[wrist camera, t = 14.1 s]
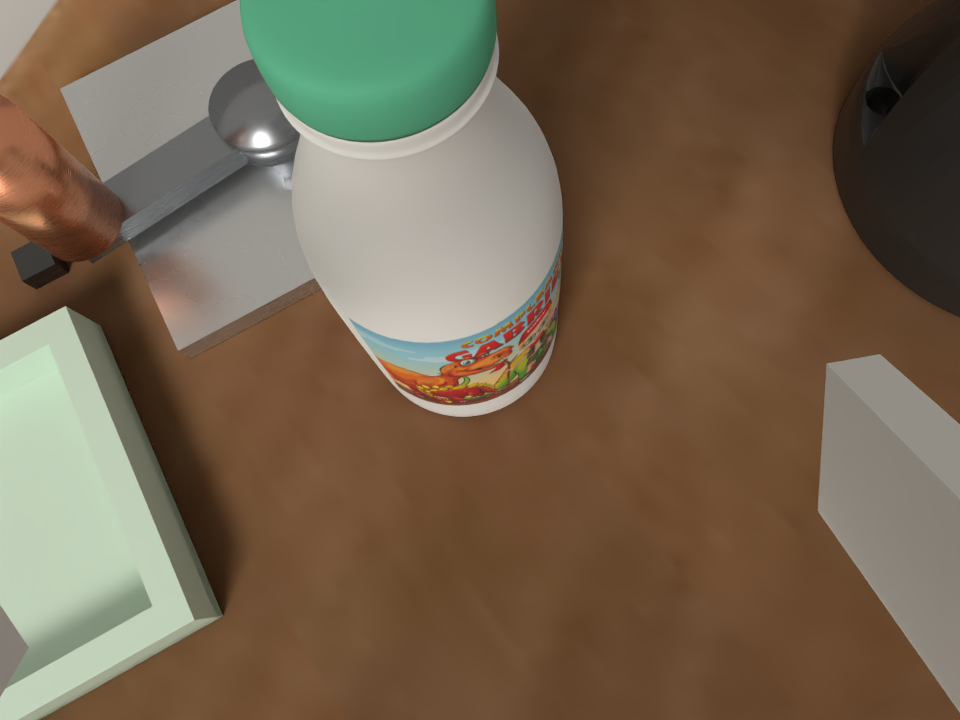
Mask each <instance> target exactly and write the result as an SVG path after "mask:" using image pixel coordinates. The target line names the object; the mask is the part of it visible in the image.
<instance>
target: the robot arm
mask: <svg viewBox="0 0 960 720" xmlns="http://www.w3.org/2000/svg"><path fill="white" fill-rule="evenodd" d="M833 159H834V171H835V177H836V183H837V186H838V190H839V194H840V197H841V200H842V203H843V206H844V208H845V210H846V213H847V215H848V217H849V219H850V221H851V223H852V225H853V227H854V229H855V230H856V232H857V233H858V235H859V237H860V238H861V240H862V241H863V242H864V244H865V245H866V246H867V248H868V249H869V250H870V252H871V253H872V254H873V255H874V256H875V258H876V259H877V260H878V261H879V262H880V263H881V264H882V265H883V266H884V267H885V268H886V269H887V270H888V271H889V272H890V273H891V274H892V275H893V276H894V277H895V278H897V279H898V280H899V281H900V282H901V283H903V284H904V285H905V286H907V287H908V288H909V289H910V290H912V291H913V292H915V293H916V294H918V295H919V296H921V297H922V298H924V299H926V300H927V301H929V302H931V303H932V304H934V305H936V306H938V307H940V308H942V309H944V310H946V311H948V312H950V313H952V314H954V315H957V316H959V317H960V0H936V1H934V2H933V3H932V4H930V5H929V6H927V7H926V8H924V9H923V10H922V11H920V12H919V13H917V14H916V15H914V16H913V17H912V18H910V19H909V20H908V21H906V22H905V23H904V24H903V25H902V26H900V27H899V28H898V29H897V30H896V31H895V32H894V33H893V34H892V35H891V36H890V37H889V38H888V39H887V40H886V41H885V42H884V43H883V45H882V46H881V47H880V48H879V49H878V50H877V52H876V53H875V55H874V56H873V57H872V59H871V60H870V62H869V63H868V65H867V66H866V68H865V69H864V71H863V72H862V74H861V75H860V77H859V78H858V80H857V81H856V83H855V85H854V86H853V88H852V89H851V91H850V93H849V94H848V96H847V98H846V101H845V103H844V105H843V107H842V110H841V113H840V115H839V119H838V122H837V126H836V132H835V138H834V158H833ZM818 512H819V513H820V515H821V516H822V518H823V519H824V520H825V522H826V523H827V525H828V526H829V528H830V529H831V530H832V532H833V533H834V535H835V536H836V537H837V539H838V540H839V542H840V543H841V545H842V546H843V547H844V549H845V550H846V552H847V553H848V555H849V556H850V557H851V559H852V560H853V562H854V563H855V564H856V566H857V567H858V569H859V570H860V572H861V573H862V574H863V576H864V577H865V579H866V580H867V582H868V583H869V584H870V586H871V587H872V589H873V590H874V591H875V593H876V594H877V596H878V597H879V599H880V600H881V601H882V603H883V604H884V606H885V607H886V608H887V610H888V611H889V613H890V614H891V616H892V617H893V618H894V620H895V621H896V623H897V624H898V626H899V627H900V628H901V630H902V631H903V633H904V634H905V635H906V637H907V638H908V640H909V641H910V643H911V644H912V645H913V647H914V648H915V650H916V651H917V653H918V654H919V655H920V657H921V658H922V660H923V661H924V662H925V664H926V665H927V667H928V668H929V670H930V671H931V672H932V674H933V675H934V677H935V678H936V679H937V681H938V682H939V684H940V685H941V687H942V688H943V689H944V691H945V692H946V694H947V695H948V697H949V698H950V699H951V701H952V702H953V704H954V705H955V706H956V708H957V709H958V711H959V712H960V424H959V423H958V422H956V421H955V420H954V419H953V418H952V417H951V416H950V415H948V414H947V413H946V412H945V411H944V410H943V409H942V408H940V407H939V406H938V405H937V404H936V403H935V402H934V401H932V400H931V399H930V398H929V397H928V396H927V395H926V394H925V393H923V392H922V391H921V390H920V389H919V388H918V387H917V386H915V385H914V384H913V383H912V382H911V381H910V380H909V379H907V378H906V377H905V376H904V375H903V374H902V373H901V372H900V371H898V370H897V369H896V368H895V367H894V366H893V365H892V364H890V363H889V362H888V361H887V360H886V359H885V358H884V357H882V356H881V355H880V354H879V355H873V356H867V357H862V358H856V359H851V360H845V361H839V362H834V363H828V364H827V368H826V384H825V401H824V418H823V434H822V451H821V467H820V484H819V501H818ZM28 648H29V647H28V646H27V644H26V643H25V641H24V640H23V638H22V637H21V635H20V634H19V632H18V631H17V629H16V628H15V626H14V625H13V623H12V622H11V620H10V619H9V617H8V616H7V614H6V613H5V611H4V610H3V608H2V607H1V605H0V697H1V695H2V693H3V692H4V690H5V688H6V686H7V685H8V683H9V681H10V679H11V678H12V676H13V674H14V672H15V671H16V669H17V667H18V666H19V664H20V662H21V660H22V659H23V657H24V655H25V653H26V652H27V650H28Z"/></svg>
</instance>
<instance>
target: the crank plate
mask: <svg viewBox="0 0 960 720" xmlns="http://www.w3.org/2000/svg"><path fill="white" fill-rule="evenodd" d="M252 59H253V57H252V55H251V53H250V50H249V48H248V46H247V43H246V40H245V37H244V33H243V28H242V22H241V15H240V0H236V1H234V2H232V3H230V4H228V5H226V6H224V7H222V8H220V9H218V10H216V11H214V12H212V13H210V14H208V15H206V16H204V17H202V18H200V19H198V20H196V21H194V22H192V23H190V24H188V25H186V26H184V27H182V28H180V29H178V30H176V31H174V32H172V33H170V34H168V35H166V36H164V37H162V38H160V39H158V40H156V41H154V42H152V43H150V44H148V45H146V46H144V47H142V48H140V49H139V50H137V51H135V52H133V53H131V54H129V55H127V56H125V57H123V58H121V59H119V60H117V61H115V62H113V63H111V64H109V65H107V66H105V67H103V68H101V69H99V70H97V71H95V72H93V73H91V74H89V75H87V76H85V77H83V78H81V79H79V80H77V81H75V82H73V83H71V84H69V85H67V86H65V87H63V88H61V89H60V90H61V92H62V94H63V97H64V99H65V101H66V103H67V105H68V108H69V110H70V112H71V114H72V116H73V119H74V121H75V123H76V125H77V128H78V130H79V132H80V134H81V136H82V139H83V141H84V143H85V145H86V147H87V150H88V152H89V154H90V156H91V159H92V161H93V163H94V165H95V167H96V170H97V172H98V174H99V176H100V179H101V181H102V183H104V182H105V181H107V180H108V179H110V178H111V177H113V176H115V175H116V174H118V173H119V172H121V171H122V170H124V169H126V168H127V167H129V166H130V165H132V164H134V163H135V162H137V161H138V160H140V159H141V158H143V157H145V156H146V155H148V154H149V153H151V152H152V151H154V150H156V149H157V148H159V147H160V146H162V145H163V144H165V143H167V142H168V141H170V140H171V139H173V138H174V137H176V136H178V135H179V134H181V133H182V132H184V131H185V130H187V129H189V128H190V127H192V126H193V125H195V124H196V123H198V122H200V121H201V120H203V119H204V118H206V117H208V116H209V112H208V105H209V99H210V95H211V93H212V90H213V88H214V86H215V85H216V83H217V82H218V81H219V79H220V78H221V77H222V76H223V75H224V74H225V73H226V72H227V71H229V70H230V69H232V68H233V67H235V66H236V65H238V64H240V63H243V62H245V61H248V60H252ZM294 160H295V159H293V160H291V161H289V162H287V163H285V164H281V165H278V166H272V167H258V166H253V165H250V164H246V165H244V166H243V167H241V168H240V169H238V170H237V171H235V172H234V173H232V174H231V175H229V176H227V177H226V178H224V179H223V180H221V181H220V182H218V183H217V184H215V185H214V186H212V187H210V188H209V189H207V190H206V191H204V192H203V193H201V194H200V195H198V196H197V197H195V198H193V199H192V200H190V201H189V202H187V203H186V204H184V205H183V206H181V207H180V208H178V209H176V210H175V211H173V212H172V213H170V214H169V215H167V216H166V217H164V218H162V219H161V220H159V221H158V222H156V223H155V224H153V225H152V226H150V227H149V228H147V229H145V230H144V231H142V232H141V233H139V234H138V235H136V236H135V237H133V238H132V239H130V240H128V241H129V243H130V245H131V247H132V249H133V252H134V254H135V256H136V258H137V261H138V263H139V265H140V267H141V269H142V272H143V274H144V276H145V278H146V280H147V283H148V285H149V287H150V289H151V292H152V294H153V296H154V298H155V300H156V303H157V305H158V307H159V309H160V312H161V314H162V316H163V318H164V320H165V323H166V325H167V327H168V329H169V331H170V334H171V336H172V338H173V340H174V343H175V345H176V347H177V349H178V351H179V352H181V353H183V354H184V355H186V356H187V357H189V358H193V357H195V356H197V355H198V354H200V353H202V352H204V351H206V350H208V349H210V348H211V347H213V346H215V345H217V344H219V343H221V342H223V341H224V340H226V339H228V338H230V337H232V336H234V335H236V334H237V333H239V332H241V331H243V330H245V329H247V328H249V327H250V326H252V325H254V324H256V323H258V322H260V321H262V320H264V319H265V318H267V317H269V316H271V315H273V314H275V313H277V312H278V311H280V310H282V309H284V308H286V307H288V306H290V305H291V304H293V303H295V302H297V301H299V300H301V299H303V298H304V297H306V296H308V295H310V294H312V293H314V292H316V291H317V290H319V289H321V287H320V285H319V284H318V282H317V280H316V279H315V277H314V275H313V273H312V271H311V270H310V267H309V265H308V263H307V260H306V258H305V255H304V253H303V250H302V248H301V245H300V242H299V239H298V235H297V231H296V226H295V221H294V215H293V210H292V173H293V166H294ZM11 254H12V257H13V259H14V262H15V264H16V267H17V269H18V272H19V275H20V277H21V280H22V281H23V282H25V283H26V284H28V285H30V286H32V287H33V288H35V289H38V288H40V287H42V286H44V285H46V284H48V283H49V282H51V281H53V280H55V279H57V278H59V277H61V276H63V275H65V274H67V273H68V270H67V268H66V265H65V263H64V261H63V260H61V259H58V258H57V257H55V256H53V255H52V254H50V253H49V252H47V251H46V250H44V249H42V248H41V247H39V246H38V245H36V244H35V243H33V242H30V243H28V244H26V245H24V246H22V247H20V248H18V249H17V250H15V251H13V252H11Z"/></svg>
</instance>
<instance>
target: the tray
mask: <svg viewBox="0 0 960 720" xmlns="http://www.w3.org/2000/svg"><path fill="white" fill-rule="evenodd" d="M0 605H1V607H2V608H3V610H4V611H5V613H6V614H7V616H8V617H9V619H10V620H11V622H12V623H13V625H14V626H15V628H16V629H17V631H18V632H19V634H20V635H21V637H22V638H23V640H24V641H25V643H26V644H27V646H28V647H29V648H28V650H27V652H26V653H25V655H24V657H23V659H22V660H21V662H20V664H19V666H18V667H17V669H16V671H15V672H14V674H13V676H12V678H11V679H10V681H9V683H8V685H7V686H6V688H5V690H4V692H3V693H2V695H1V697H0V720H40V719H42V718H44V717H45V716H47V715H49V714H51V713H53V712H54V711H56V710H58V709H60V708H61V707H63V706H65V705H67V704H68V703H70V702H72V701H74V700H75V699H77V698H79V697H81V696H83V695H84V694H86V693H88V692H90V691H91V690H93V689H95V688H97V687H98V686H100V685H102V684H104V683H106V682H107V681H109V680H111V679H113V678H114V677H116V676H118V675H120V674H121V673H123V672H125V671H127V670H129V669H130V668H132V667H134V666H136V665H137V664H139V663H141V662H143V661H144V660H146V659H148V658H150V657H152V656H153V655H155V654H157V653H159V652H160V651H162V650H164V649H166V648H167V647H169V646H171V645H173V644H174V643H176V642H178V641H180V640H182V639H183V638H185V637H187V636H189V635H190V634H192V633H194V632H196V631H197V630H199V629H201V628H203V627H205V626H206V625H208V624H210V623H212V622H213V621H215V620H217V619H219V618H220V617H222V616H223V614H222V612H221V610H220V607H219V605H218V603H217V600H216V598H215V595H214V593H213V591H212V588H211V586H210V584H209V581H208V579H207V577H206V574H205V572H204V569H203V567H202V565H201V562H200V560H199V558H198V555H197V553H196V550H195V548H194V546H193V543H192V541H191V539H190V536H189V534H188V531H187V529H186V527H185V524H184V522H183V520H182V517H181V515H180V513H179V510H178V508H177V505H176V503H175V501H174V498H173V496H172V494H171V491H170V489H169V486H168V484H167V482H166V479H165V477H164V475H163V472H162V470H161V468H160V465H159V463H158V460H157V458H156V456H155V453H154V451H153V449H152V446H151V444H150V441H149V439H148V437H147V434H146V432H145V430H144V427H143V425H142V423H141V420H140V418H139V415H138V413H137V411H136V408H135V406H134V404H133V401H132V399H131V396H130V394H129V392H128V389H127V387H126V385H125V382H124V380H123V377H122V375H121V373H120V370H119V368H118V366H117V363H116V361H115V359H114V356H113V354H112V351H111V349H110V347H109V344H108V342H107V340H106V337H105V335H104V332H103V330H102V328H101V326H100V325H98V324H97V323H95V322H93V321H91V320H90V319H88V318H86V317H84V316H82V315H81V314H79V313H77V312H75V311H74V310H72V309H70V308H68V307H66V306H65V307H63V308H61V309H59V310H57V311H55V312H53V313H51V314H49V315H48V316H46V317H44V318H42V319H40V320H38V321H36V322H34V323H32V324H30V325H29V326H27V327H25V328H23V329H21V330H19V331H17V332H15V333H13V334H11V335H9V336H8V337H6V338H4V339H2V340H0Z"/></svg>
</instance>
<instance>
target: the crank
mask: <svg viewBox="0 0 960 720" xmlns="http://www.w3.org/2000/svg"><path fill="white" fill-rule="evenodd" d="M208 112H209V116H208V117H206V118H204V119H203V120H201V121H200V122H198V123H196V124H195V125H193V126H192V127H190V128H189V129H187V130H185V131H184V132H182V133H181V134H179V135H178V136H176V137H174V138H173V139H171V140H170V141H168V142H167V143H165V144H163V145H162V146H160V147H159V148H157V149H156V150H154V151H152V152H151V153H149V154H148V155H146V156H145V157H143V158H141V159H140V160H138V161H137V162H135V163H134V164H132V165H130V166H129V167H127V168H126V169H124V170H122V171H121V172H119V173H118V174H116V175H115V176H113V177H111V178H110V179H108V180H107V181H105V182H104V183H102V182H101V181H100V180H99V179H98V178H97V177H95V176H94V175H93V174H92V173H91V172H90V171H89V170H88V169H86V168H85V167H84V166H83V165H82V164H81V163H80V162H79V161H77V160H76V159H75V158H74V157H73V156H72V155H71V154H70V153H69V152H67V151H66V150H65V149H64V148H63V147H62V146H61V145H60V144H58V143H57V142H56V141H55V140H54V139H53V138H52V137H51V136H49V135H48V134H47V133H46V132H45V131H44V130H43V129H42V128H41V127H39V126H38V125H37V124H36V123H35V122H34V121H33V120H32V119H30V118H29V117H28V116H27V115H26V114H25V113H24V112H23V111H22V110H20V109H19V108H18V107H17V106H16V105H15V104H14V103H13V102H11V101H10V100H9V99H7V98H5V97H3V96H1V95H0V221H1V222H3V223H4V224H6V225H7V226H9V227H10V228H12V229H13V230H15V231H16V232H18V233H19V234H21V235H23V236H24V237H26V238H27V239H29V240H30V241H32V242H33V243H35V244H36V245H38V246H39V247H41V248H42V249H44V250H46V251H47V252H49V253H50V254H52V255H53V256H55V257H57V258H58V259H61V260H64V261H69V262H80V261H85V260H89V261H90V262H92V263H94V262H96V261H98V260H99V259H101V258H102V257H104V256H105V255H107V254H108V253H110V252H111V251H113V250H115V249H116V248H118V247H119V246H121V245H122V244H124V243H125V242H127V241H128V240H130V239H132V238H133V237H135V236H136V235H138V234H139V233H141V232H142V231H144V230H145V229H147V228H149V227H150V226H152V225H153V224H155V223H156V222H158V221H159V220H161V219H162V218H164V217H166V216H167V215H169V214H170V213H172V212H173V211H175V210H176V209H178V208H180V207H181V206H183V205H184V204H186V203H187V202H189V201H190V200H192V199H193V198H195V197H197V196H198V195H200V194H201V193H203V192H204V191H206V190H207V189H209V188H210V187H212V186H214V185H215V184H217V183H218V182H220V181H221V180H223V179H224V178H226V177H227V176H229V175H231V174H232V173H234V172H235V171H237V170H238V169H240V168H241V167H243V166H244V165H246V164H250V165H253V166H258V167H272V166H278V165H281V164H285V163H287V162H289V161H291V160H293V159H295V154H296V150H297V146H298V142H299V138H300V133H299V132H298V131H297V130H296V129H295V128H294V127H293V126H292V125H291V124H290V122H289V121H288V120H287V118H286V117H285V115H284V114H283V112H282V110H281V109H280V106H279V104H278V102H277V100H276V97H275V96H274V94H273V93H272V91H271V89H270V88H269V86H268V85H267V83H266V82H265V80H264V78H263V77H262V75H261V73H260V71H259V69H258V67H257V65H256V63H255V61H254V59H252V60H248V61H245V62H243V63H240V64H238V65H236V66H235V67H233V68H232V69H230V70H229V71H227V72H226V73H225V74H224V75H223V76H222V77H221V78H220V79H219V81H218V82H217V83H216V85H215V86H214V88H213V90H212V93H211V95H210V99H209V105H208Z"/></svg>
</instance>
